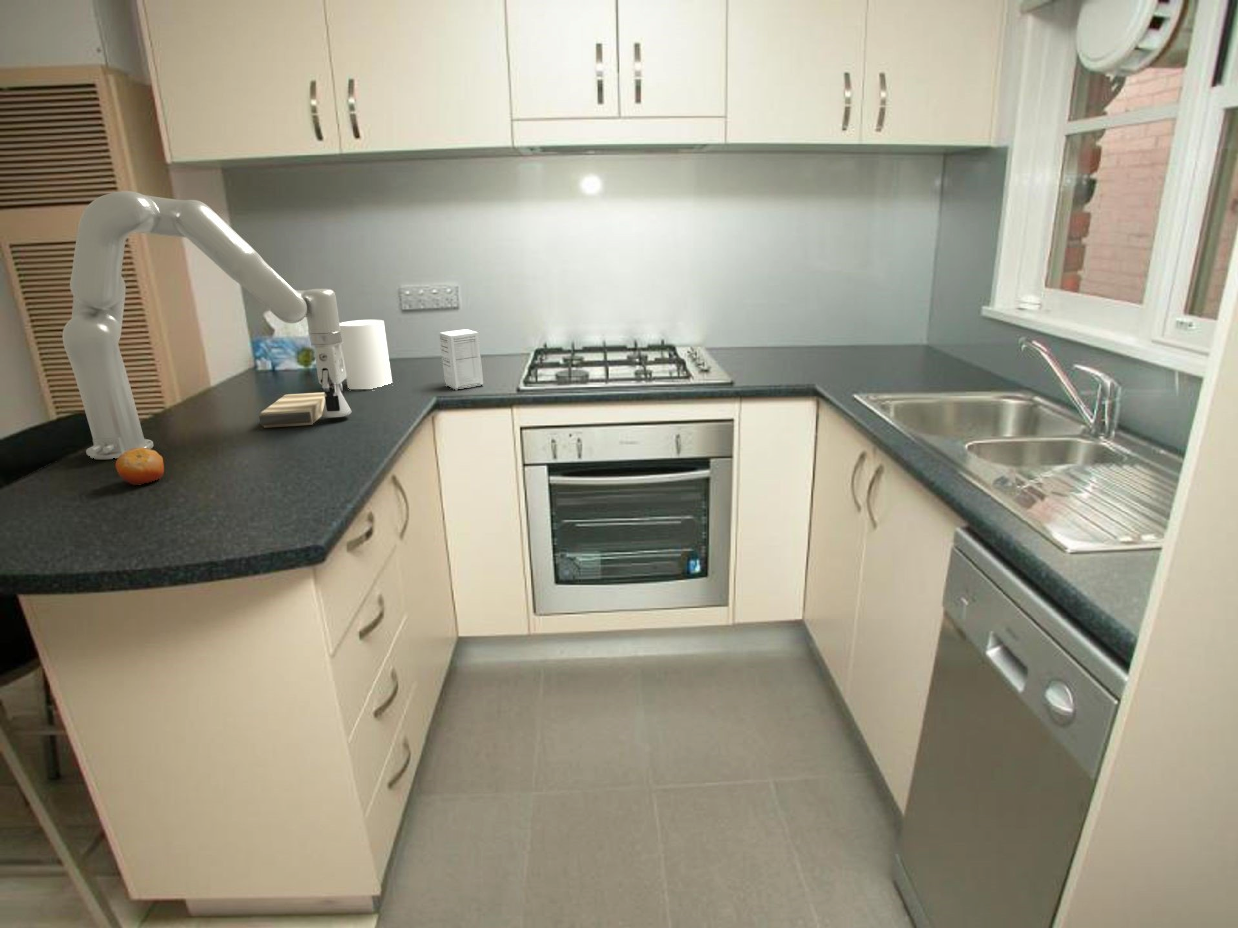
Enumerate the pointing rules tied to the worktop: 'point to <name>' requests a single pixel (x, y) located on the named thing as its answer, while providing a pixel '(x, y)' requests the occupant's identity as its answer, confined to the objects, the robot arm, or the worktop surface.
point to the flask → (342, 402)
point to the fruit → (140, 466)
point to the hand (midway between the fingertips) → (336, 407)
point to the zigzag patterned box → (294, 410)
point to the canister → (365, 354)
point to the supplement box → (461, 358)
